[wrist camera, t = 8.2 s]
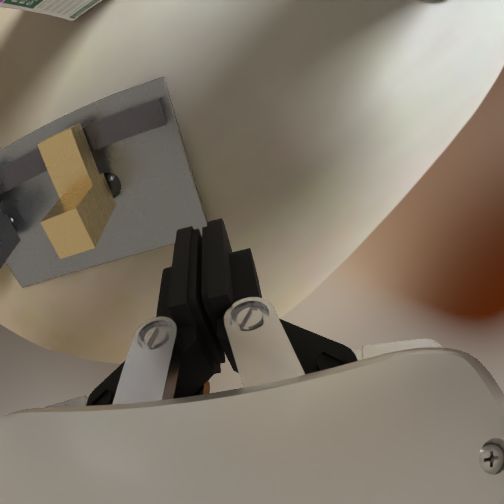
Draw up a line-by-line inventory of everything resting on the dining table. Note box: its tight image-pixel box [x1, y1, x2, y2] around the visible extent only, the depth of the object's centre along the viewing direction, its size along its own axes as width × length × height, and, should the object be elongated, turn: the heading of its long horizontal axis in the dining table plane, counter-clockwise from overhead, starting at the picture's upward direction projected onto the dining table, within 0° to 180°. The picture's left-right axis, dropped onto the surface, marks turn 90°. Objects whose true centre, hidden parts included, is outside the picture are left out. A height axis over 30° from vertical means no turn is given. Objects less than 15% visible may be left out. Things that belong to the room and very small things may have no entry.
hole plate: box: [0, 77, 207, 287], centre depth 22 cm, size 22×14×8 cm, turn 102°
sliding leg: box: [37, 123, 116, 259], centre depth 20 cm, size 3×8×7 cm, turn 12°
